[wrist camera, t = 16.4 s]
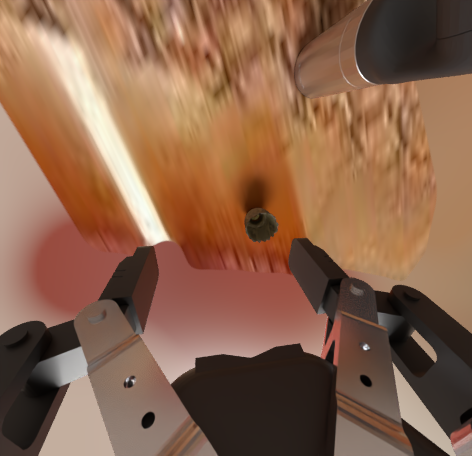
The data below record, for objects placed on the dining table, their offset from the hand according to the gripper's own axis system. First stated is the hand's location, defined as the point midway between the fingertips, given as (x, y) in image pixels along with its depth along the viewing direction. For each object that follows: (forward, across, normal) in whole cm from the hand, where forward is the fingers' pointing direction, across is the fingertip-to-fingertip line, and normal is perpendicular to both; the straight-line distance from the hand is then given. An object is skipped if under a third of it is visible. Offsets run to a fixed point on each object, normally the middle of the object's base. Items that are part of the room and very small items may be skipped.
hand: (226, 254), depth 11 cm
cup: (+36, -11, +14) cm, 40 cm away
